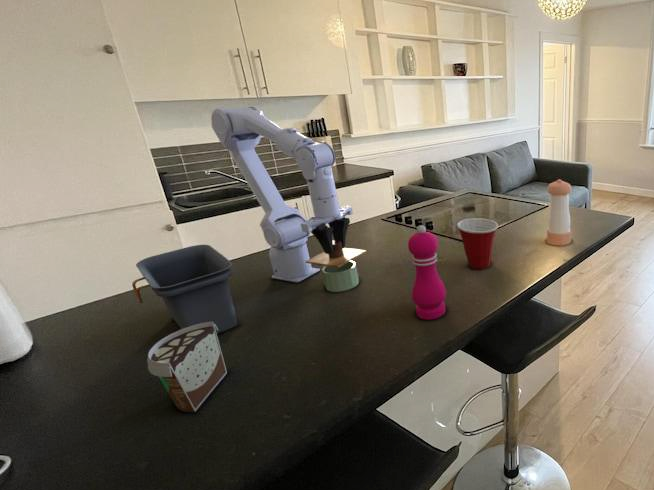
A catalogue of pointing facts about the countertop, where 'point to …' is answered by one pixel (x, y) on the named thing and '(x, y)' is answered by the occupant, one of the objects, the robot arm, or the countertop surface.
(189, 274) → the storage bin
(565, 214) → the salt shaker
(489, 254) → the plastic cup
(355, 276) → the green cup
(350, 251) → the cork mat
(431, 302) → the pepper mill
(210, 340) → the food container
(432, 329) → the countertop surface
